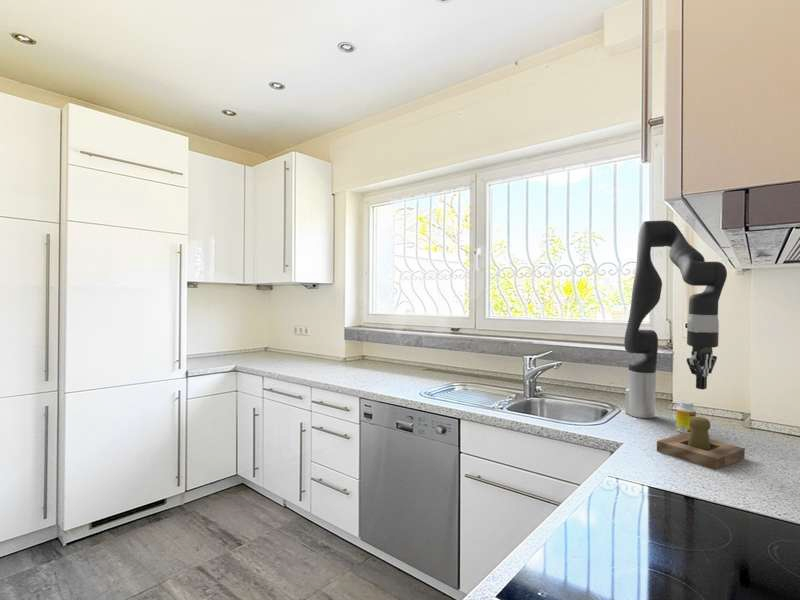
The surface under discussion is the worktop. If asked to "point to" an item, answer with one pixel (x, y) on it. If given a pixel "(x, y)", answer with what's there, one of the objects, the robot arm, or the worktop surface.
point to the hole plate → (701, 451)
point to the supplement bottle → (684, 416)
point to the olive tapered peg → (699, 433)
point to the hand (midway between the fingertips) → (701, 388)
